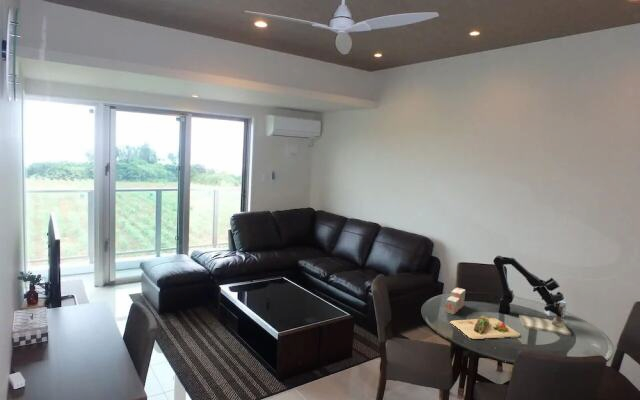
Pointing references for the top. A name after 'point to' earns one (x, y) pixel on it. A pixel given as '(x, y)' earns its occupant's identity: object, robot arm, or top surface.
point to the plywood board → (542, 325)
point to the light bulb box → (562, 304)
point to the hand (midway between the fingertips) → (561, 316)
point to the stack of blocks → (455, 301)
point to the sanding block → (559, 319)
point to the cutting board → (484, 328)
